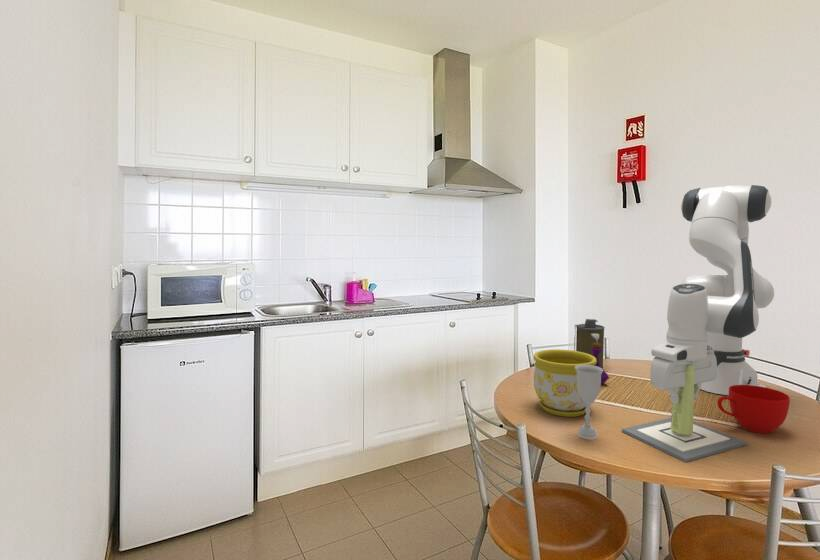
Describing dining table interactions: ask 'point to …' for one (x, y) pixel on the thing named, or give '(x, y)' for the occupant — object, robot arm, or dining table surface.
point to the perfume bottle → (596, 351)
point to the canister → (589, 338)
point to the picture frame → (684, 439)
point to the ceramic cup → (757, 407)
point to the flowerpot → (560, 381)
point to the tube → (684, 406)
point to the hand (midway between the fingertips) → (683, 401)
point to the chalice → (588, 395)
